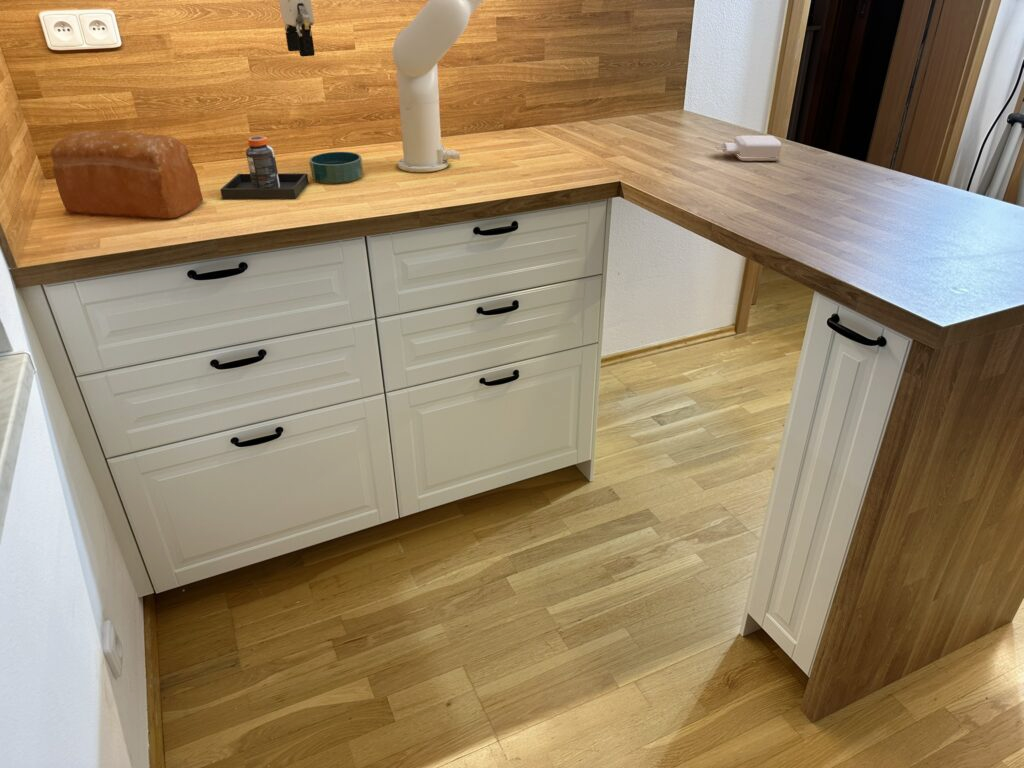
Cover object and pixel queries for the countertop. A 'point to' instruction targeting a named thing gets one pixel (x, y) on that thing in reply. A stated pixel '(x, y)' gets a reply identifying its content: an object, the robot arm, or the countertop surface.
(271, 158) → the pill bottle
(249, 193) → the tray
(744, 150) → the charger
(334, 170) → the bowl
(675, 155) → the countertop surface
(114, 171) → the bread
